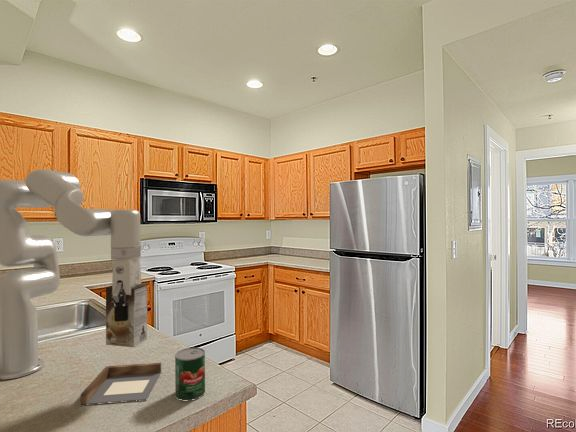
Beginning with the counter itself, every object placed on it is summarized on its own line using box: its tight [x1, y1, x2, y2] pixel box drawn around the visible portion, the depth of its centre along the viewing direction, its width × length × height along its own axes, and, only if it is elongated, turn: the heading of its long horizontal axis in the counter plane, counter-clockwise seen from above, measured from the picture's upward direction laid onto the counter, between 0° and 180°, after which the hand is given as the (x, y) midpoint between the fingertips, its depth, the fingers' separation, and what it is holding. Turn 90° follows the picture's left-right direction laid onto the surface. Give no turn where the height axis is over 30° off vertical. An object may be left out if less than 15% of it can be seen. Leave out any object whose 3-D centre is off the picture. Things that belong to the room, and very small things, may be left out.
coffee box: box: [105, 283, 148, 348], centre depth 94 cm, size 9×6×16 cm
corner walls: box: [80, 362, 162, 406], centre depth 94 cm, size 16×16×3 cm
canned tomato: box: [174, 347, 206, 400], centre depth 91 cm, size 8×8×11 cm
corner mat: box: [85, 371, 162, 406], centre depth 94 cm, size 16×16×1 cm
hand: (126, 315), depth 94 cm, fingers closed on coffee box, 7 cm apart
